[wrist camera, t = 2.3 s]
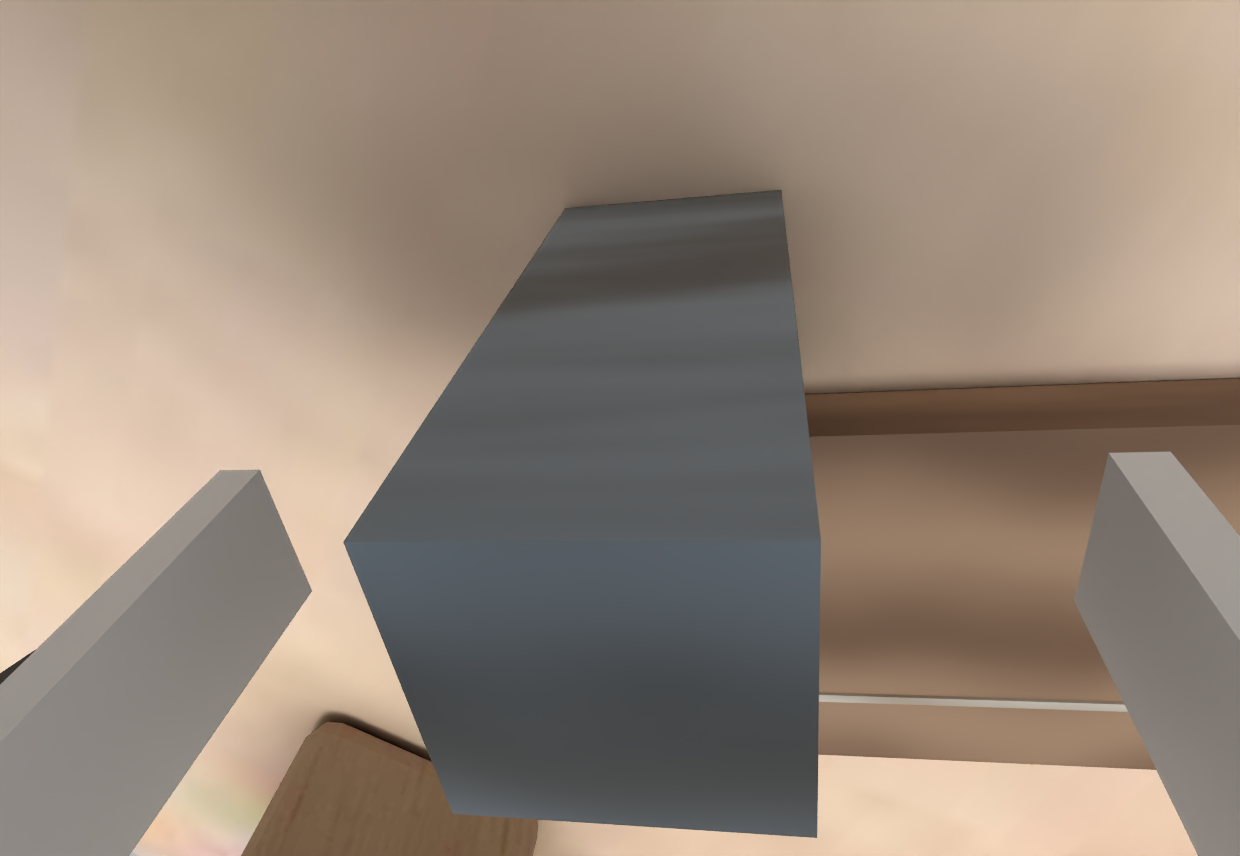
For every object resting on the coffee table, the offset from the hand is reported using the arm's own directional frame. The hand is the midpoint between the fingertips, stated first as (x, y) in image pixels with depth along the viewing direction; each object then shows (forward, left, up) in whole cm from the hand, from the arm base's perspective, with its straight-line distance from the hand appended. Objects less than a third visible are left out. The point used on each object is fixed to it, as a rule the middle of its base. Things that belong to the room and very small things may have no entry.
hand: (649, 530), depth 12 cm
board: (+8, +6, -8) cm, 13 cm away
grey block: (+5, 0, -8) cm, 10 cm away
